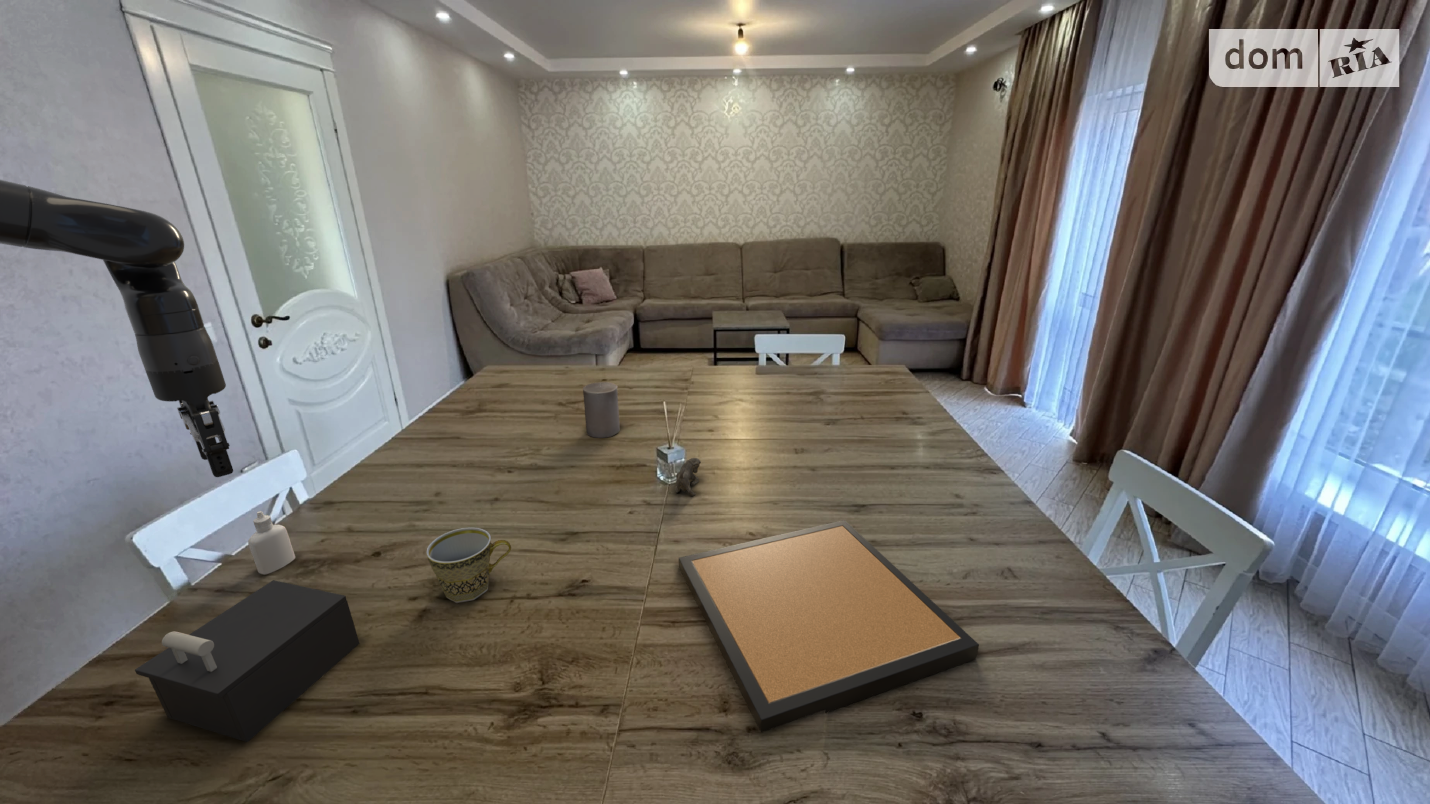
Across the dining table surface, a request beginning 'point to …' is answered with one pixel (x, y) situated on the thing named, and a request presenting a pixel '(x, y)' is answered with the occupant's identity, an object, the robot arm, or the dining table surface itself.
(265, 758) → the dining table surface
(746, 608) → the cork board
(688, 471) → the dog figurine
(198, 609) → the dining table surface
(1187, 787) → the dining table surface
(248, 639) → the box lid
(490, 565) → the ceramic cup
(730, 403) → the dining table surface
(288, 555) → the eye dropper bottle
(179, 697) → the black box
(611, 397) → the pillar candle
